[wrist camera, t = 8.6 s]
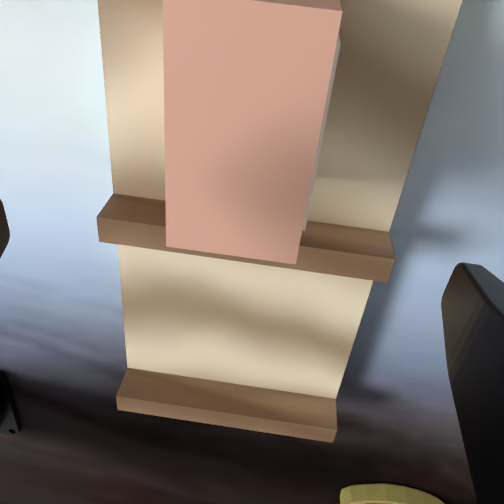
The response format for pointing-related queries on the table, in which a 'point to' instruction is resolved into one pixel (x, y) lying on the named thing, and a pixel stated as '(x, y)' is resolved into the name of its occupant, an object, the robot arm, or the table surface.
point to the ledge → (255, 270)
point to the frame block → (245, 121)
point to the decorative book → (385, 495)
